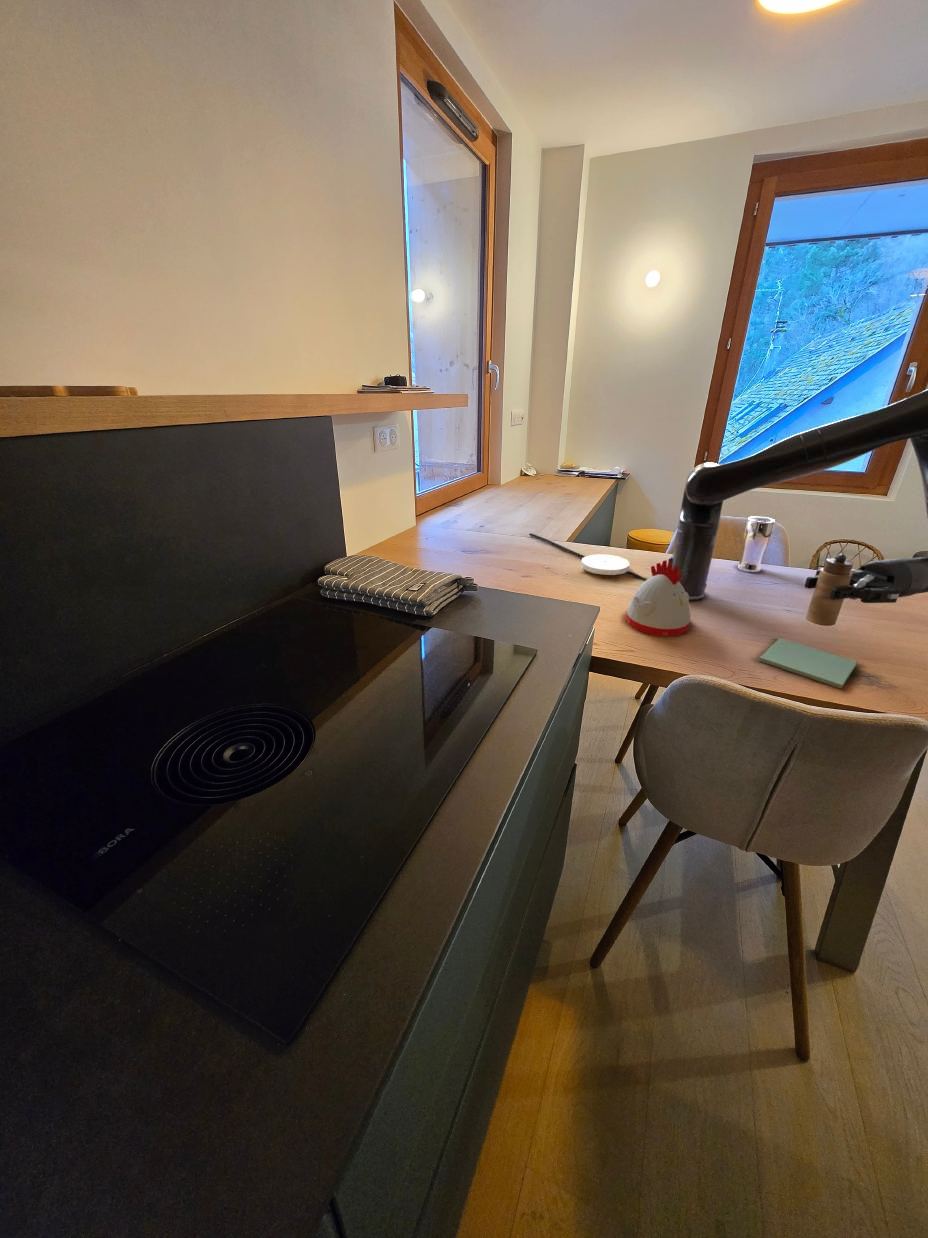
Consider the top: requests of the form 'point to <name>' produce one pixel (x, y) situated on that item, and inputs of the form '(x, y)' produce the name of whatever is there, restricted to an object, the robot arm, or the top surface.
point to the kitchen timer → (660, 603)
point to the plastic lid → (605, 564)
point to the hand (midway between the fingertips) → (819, 588)
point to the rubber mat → (809, 662)
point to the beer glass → (755, 543)
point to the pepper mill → (829, 591)
